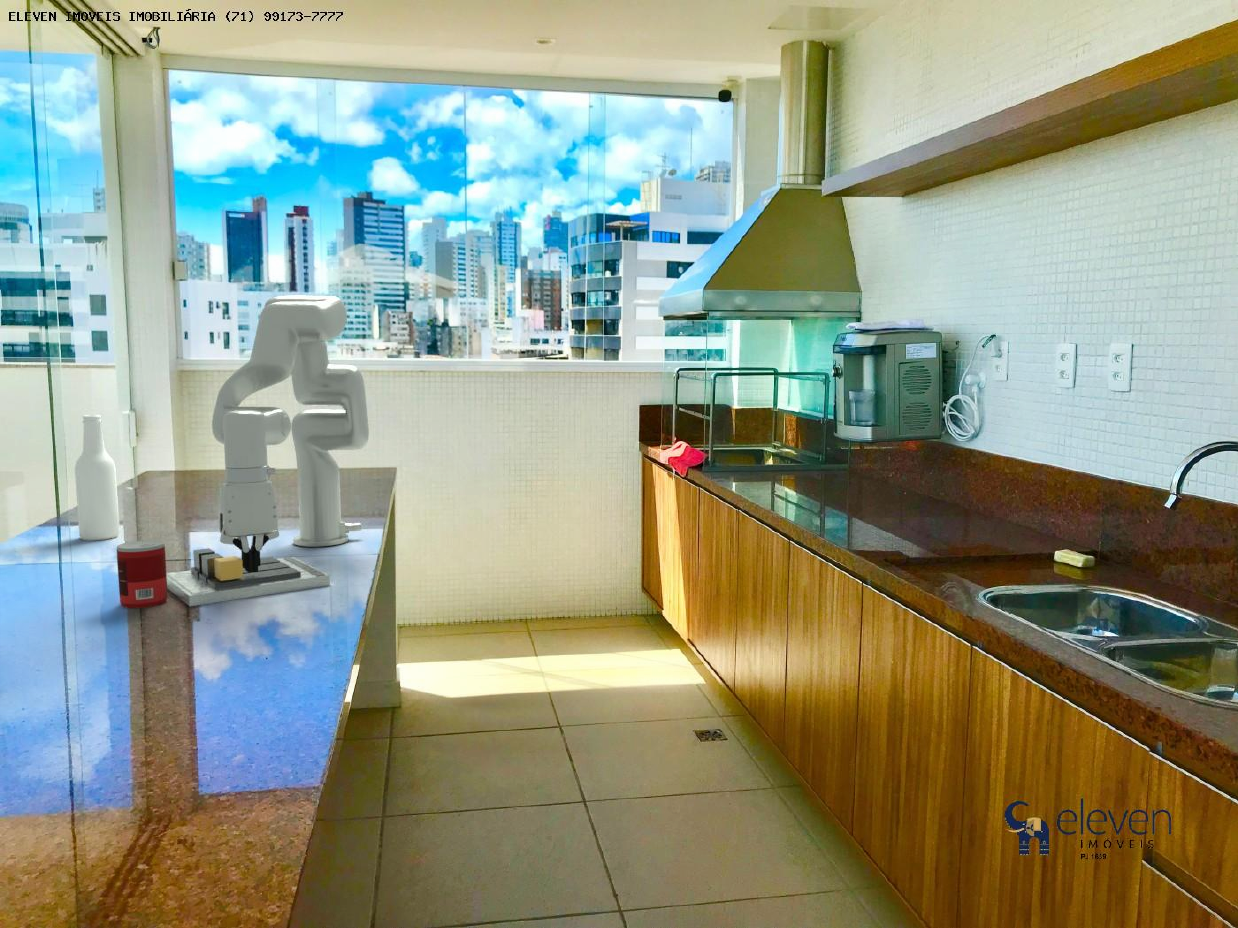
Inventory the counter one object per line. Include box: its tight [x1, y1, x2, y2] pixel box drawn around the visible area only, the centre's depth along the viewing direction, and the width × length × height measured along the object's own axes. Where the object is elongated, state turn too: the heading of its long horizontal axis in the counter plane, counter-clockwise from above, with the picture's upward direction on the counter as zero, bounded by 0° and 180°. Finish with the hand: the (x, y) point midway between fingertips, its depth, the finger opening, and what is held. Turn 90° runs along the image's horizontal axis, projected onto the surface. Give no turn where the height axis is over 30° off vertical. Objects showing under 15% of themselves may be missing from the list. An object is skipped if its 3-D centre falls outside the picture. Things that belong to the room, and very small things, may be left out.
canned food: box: [116, 539, 168, 609], centre depth 179 cm, size 8×8×11 cm
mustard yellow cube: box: [214, 555, 243, 581], centre depth 185 cm, size 4×4×4 cm
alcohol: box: [74, 414, 121, 542], centre depth 240 cm, size 9×9×30 cm
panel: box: [166, 547, 331, 607], centre depth 193 cm, size 26×21×6 cm
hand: (251, 570), depth 188 cm, fingers closed
